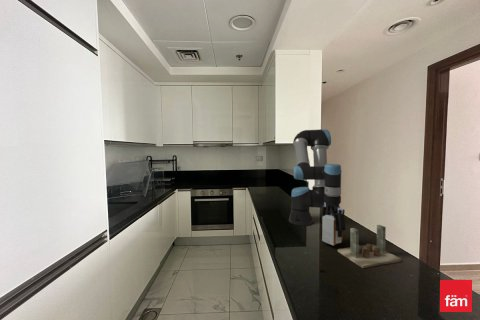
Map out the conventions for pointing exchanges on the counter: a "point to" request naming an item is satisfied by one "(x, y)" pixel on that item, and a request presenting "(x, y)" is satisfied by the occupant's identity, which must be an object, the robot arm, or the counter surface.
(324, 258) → the counter surface
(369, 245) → the peg stand
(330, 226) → the small box
